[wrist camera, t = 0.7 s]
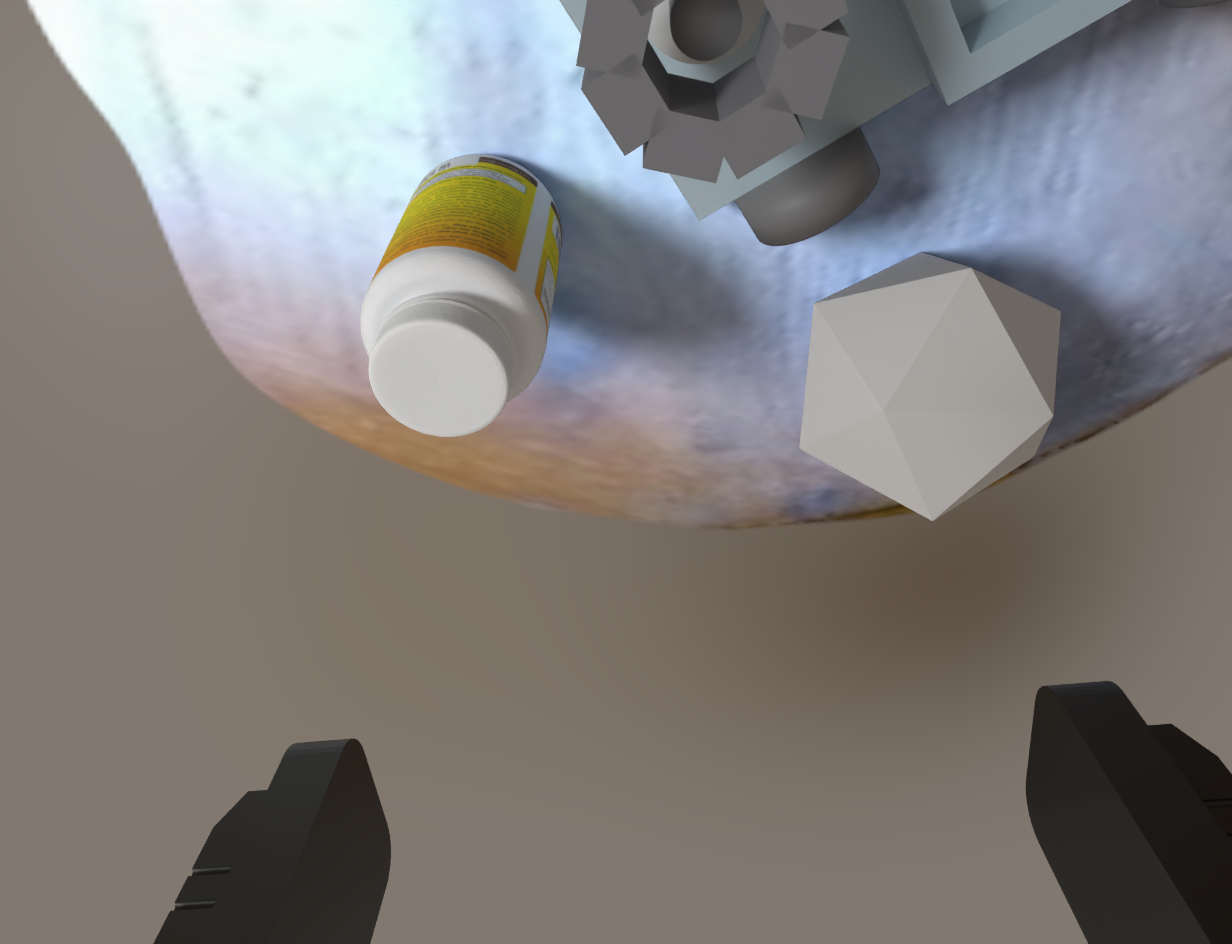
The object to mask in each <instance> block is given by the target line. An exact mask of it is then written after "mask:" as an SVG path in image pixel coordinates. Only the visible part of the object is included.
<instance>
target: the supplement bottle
mask: <svg viewBox="0 0 1232 944" xmlns="http://www.w3.org/2000/svg"><path fill="white" fill-rule="evenodd" d="M561 245H562V225H561V220H560V215H559V212H558V209H557V207H556V204H555V202H554V200H553V198H552V196H551V195H550V193H549V192H548V190H547V189H546V188H545V186H544V185H543V184H542V183H541V182H540V181H539V180H538V178H536V177H535V176H534V175H533V174H532V173H531V172H529V171H528V170H527V169H525V168H524V167H522V166H520V165H518V164H516V163H515V162H512V161H510V160H507V159H505V158H502V157H498V156H494V155H488V154H469V155H463V156H459V157H455V158H452V159H450V160H447V161H445V162H443V163H441V164H440V165H438V166H437V167H435V168H434V169H433V170H431V171H430V172H429V173H428V174H427V175H426V176H425V177H424V178H423V180H422V181H421V182H420V184H419V185H418V187H417V188H416V190H415V192H414V193H413V195H412V197H411V200H410V202H409V204H408V206H407V208H406V210H405V212H404V214H403V216H402V218H401V221H400V223H399V225H398V227H397V229H396V231H395V233H394V235H393V237H392V239H391V241H390V243H389V245H388V247H387V250H386V252H385V254H384V256H383V258H382V260H381V262H380V265H379V267H378V269H377V271H376V273H375V275H374V277H373V279H372V281H371V284H370V286H369V288H368V290H367V293H366V295H365V298H364V301H363V305H362V309H361V318H360V325H361V334H362V340H363V343H364V346H365V349H366V352H367V354H368V356H369V358H370V360H369V379H370V383H371V387H372V390H373V392H374V394H375V396H376V398H377V399H378V401H379V402H380V404H381V405H382V406H383V408H384V409H385V410H386V411H387V412H388V413H389V414H390V415H391V416H392V417H394V418H395V419H396V420H398V421H399V422H401V423H402V424H404V425H406V426H407V427H409V428H411V429H413V430H416V431H419V432H421V433H424V434H428V435H434V436H440V437H456V436H463V435H468V434H471V433H474V432H477V431H479V430H481V429H483V428H484V427H486V426H488V425H489V424H490V423H492V422H493V421H494V420H495V419H496V418H497V417H498V416H499V414H500V413H501V412H502V410H503V409H504V407H505V405H506V402H508V401H510V400H512V399H513V398H515V397H516V396H517V395H519V394H520V393H521V392H522V391H523V390H524V389H526V388H527V387H528V385H529V384H530V383H531V381H532V380H533V379H534V377H535V375H536V374H537V372H538V370H539V368H540V366H541V363H542V360H543V357H544V353H545V349H546V344H547V336H548V330H549V324H550V318H551V311H552V305H553V299H554V294H555V286H556V280H557V273H558V266H559V258H560V252H561Z"/></svg>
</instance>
